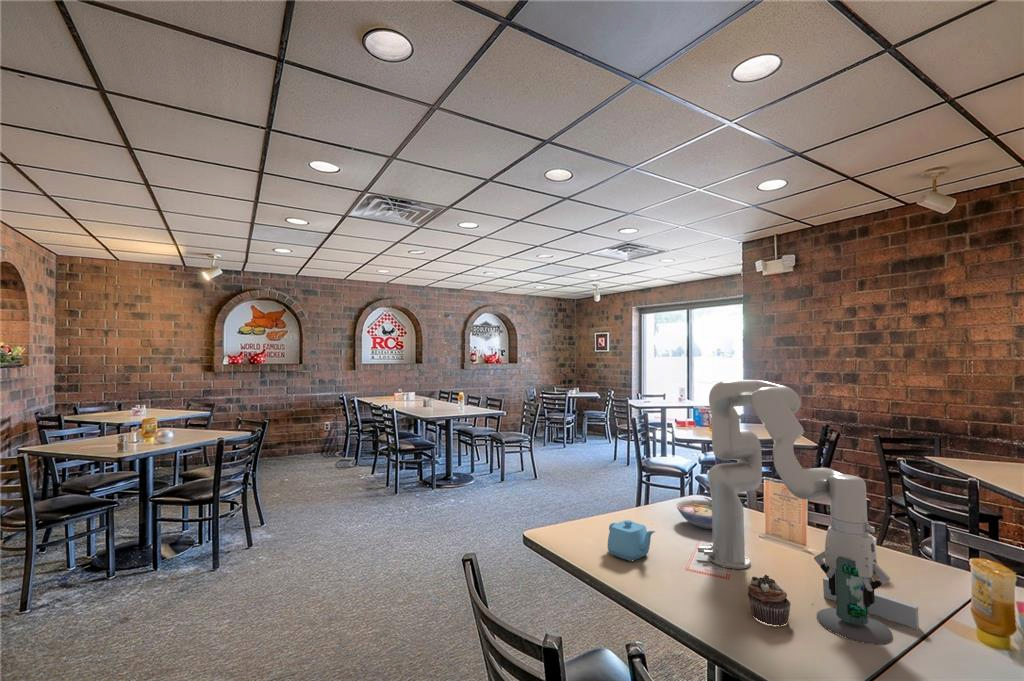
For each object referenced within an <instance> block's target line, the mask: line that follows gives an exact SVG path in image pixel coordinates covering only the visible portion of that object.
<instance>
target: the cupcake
mask: <svg viewBox="0 0 1024 681" xmlns="http://www.w3.org/2000/svg"><path fill="white" fill-rule="evenodd" d="M747 591H748V592H747V597H748V602H749V605H750V610H751V613H752V614H753V615H752V614H751V615H752V617H753V616H754V617H755V618H757V619H758V620H760V621H762V622H765V623H767V624H772V625H779V626H781V625H784V624H786V623H787V622H789V617H790V611H791V604H792V603H791V601H790V600H789V599H788V598H787V597H788V593H787V591H785V590H784V589H783V588H782V587H781V586H780V585H779V584H778V582H776V581H775V579H773V578H770V576H769V575H767V574H765V575H763V576H762V577H756V576H752V577H751V580H750V583H749V585H748V586H747ZM754 617H753V618H754ZM787 624H788V623H787Z"/></svg>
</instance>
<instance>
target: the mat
mask: <svg viewBox="0 0 1024 681" xmlns="http://www.w3.org/2000/svg"><path fill="white" fill-rule="evenodd" d="M816 619H818V620H819V622H820V623H821V624H822V625H823V626H824V627H823V626H822V625H821V624H820V623H819V622H818V623H819V624H820V625H821V626H822V627H823V628H825V627H826V628H827V629H826V628H825V629H826V630H828V629H829V630H831V631H832V632H831V631H830V632H831V633H833V632H834V633H833V634H835V633H837V634H839V635H841V636H843V637H842V638H844V637H846V638H845V639H847V638H848V639H847V640H850V639H851V640H850V641H853V640H854V641H853V642H857V641H858V643H861V642H864V643H863V644H867V643H874V644H873V645H883V644H882V643H884V644H887V643H886V642H888V641H890V640H891V639H892V640H893V633H892V631H891V629H890V628H889V627H888V626H887V625H886V624H884V623H882V622H881V621H880V620H877V619H876V618H874V617H872V616H870V615H868V623H867V624H865V625H856V624H852V623H848V622H846V621H843V620H841V618H839V617H838V616H837V615H836V607H826V608H823V609H820V610H818V611H817V613H816ZM818 620H817V621H818ZM829 630H828V631H829ZM837 634H836V635H837ZM839 635H838V636H839ZM841 636H840V637H841ZM892 640H891V641H892ZM891 641H890V642H891ZM879 643H881V644H879ZM888 643H889V642H888Z"/></svg>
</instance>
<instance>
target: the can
mask: <svg viewBox="0 0 1024 681" xmlns="http://www.w3.org/2000/svg"><path fill="white" fill-rule="evenodd" d="M865 589H866V586H865V584H864V582H863V580H862V577H859V574H858V569H857V570H856V563H855V561H852V560H849V559H844V558H841V557H839V556H838V558H837V559H836V570H835V590H836V601H835V608H836V615H837V616H838V617H839V618H841V620H843V621H846V622H848V623H852V624H856V625H865V624H867V623H868V616H869V613H868V607H866V606H865V603H864V590H865Z"/></svg>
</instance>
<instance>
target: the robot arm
mask: <svg viewBox="0 0 1024 681" xmlns="http://www.w3.org/2000/svg"><path fill="white" fill-rule="evenodd" d="M710 389H711V390H710V392H709V393H708V394H709V395H708V403H709V410H710V414H711V416H710V417H711V445H712V452H713V455H714V456H715V457H716V458H718V459H719V460H722V461H723V460H726V461H729V460H736V461H737V462H726V463H725V462H724V463H718V464H715V465H713V466H711V468H710V469H709V470H708V471H707V482H708V486H709V491H710V497H711V499H710V501H711V500H712V529H711V530H712V531H711V532H712V542H710V543H709V544H710V545H707V546H701V545H698V546H697V552H698V553H703V554H704V556H707V558H709V559H708V561H710V562H711V561H712V562H713V563H712V562H711V563H712V564H714V563H715V564H714V565H716V564H717V565H716V566H719V565H720V566H719V567H722V566H724V567H723V568H726V567H727V568H726V569H731V568H732V569H733V570H735V569H736V570H737V569H738V570H744V569H747V568H749V567H750V566H751V560H750V558H749V557H748V556H746V554H745V552H746V551H745V524H744V523H745V522H744V521H745V519H744V514H745V513H744V505H743V504H742V501H741V499H740V497H739V495H738V493H745V492H752V491H756V490H757V489H759V488H760V486H761V485H762V481H763V480H762V479H763V460H762V454H763V453H762V445H761V441H760V439H759V438H758V436H757V434H756V433H754V432H753V431H751V430H749V429H741V428H740V427H741V425H740V424H741V422H740V416H739V414H738V412H737V410H736V409H735V408H734V407H748V406H749V407H752V408H753V410H754V412H755V414H756V415H757V417H758V418H759V420H760V421H761V423H762V424H763V426H764V428H765V430H766V432H767V433H768V435H769V436H770V438H771V440H772V441H773V446H772V447H773V448H772V459H773V465H774V468H775V471H776V472H777V474H778V476H779V477H780V479H781V481H782V482H783V484H784V486H785V487H786V488H787V490H788V491H789V492H790V493H791V494H792V495H793V496H794V497H795V498H798V499H801V500H806V501H807V500H815V499H824V498H826V499H827V498H829V507H830V508H829V512H830V513H829V516H830V525H829V526H828V527H827V530H826V537H825V543H824V551H822V552H820V553H819V554H817V555H815V556H814V557H813V559H814V561H815V562H816V563H817V565H818V566H820V569H821V570H822V572H824V573H825V575H826V578H829V589H830V590H831V595H833V596H834V595H836V590H835V570H836V559H837V558H838V556H839V557H841V558H844V559H849V560H852V561H855V563H856V570H857V569H858V574H859V577H862V580H863V582H864V584H865V586H866V589H865V590H864V603H865V606H866V607H870V606H871V605H872V604H874V602H875V598H874V593H875V590H876V589H878V588H880V587H881V586H883V585H885V584H887V583H888V582H890V580H891V577H890V576H889V575H888V574H887V573H886V572H885V571H884V570H883V568H881V567H880V565H878V558H877V549H876V550H875V545H874V541H873V537H874V536H873V534H871V533H875V532H876V530H875V528H876V527H875V526H873V525H872V526H871V525H870V524H869V521H868V506H867V505H868V504H867V484H866V481H865V480H864V479H863V478H862V477H860V476H857V475H853V474H846V473H842V472H839V471H837V470H835V469H832V468H829V467H814V468H803V466H801V464H800V462H799V460H798V459H797V456H796V455H795V450H794V445H795V442H796V441H798V440H799V439H800V438H801V437H802V436H804V432H805V431H804V430H805V429H804V427H803V426H802V425H801V423H800V422H799V420H798V419H797V417H796V416H795V413H796V412H798V411H799V409H800V408H801V399H800V397H799V395H798V393H797V392H796V391H795V390H794V389H793V388H791V387H789V386H785V385H780V384H776V383H774V382H773V383H772V382H769V381H765V380H760V379H729V380H728V379H727V380H723V381H719V382H717V383H716V384H714V386H712V388H710ZM872 536H873V537H872ZM732 569H731V570H732ZM874 575H877V576H878V577H879V578H878V579H876V580H874V578H873V576H874Z"/></svg>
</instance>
